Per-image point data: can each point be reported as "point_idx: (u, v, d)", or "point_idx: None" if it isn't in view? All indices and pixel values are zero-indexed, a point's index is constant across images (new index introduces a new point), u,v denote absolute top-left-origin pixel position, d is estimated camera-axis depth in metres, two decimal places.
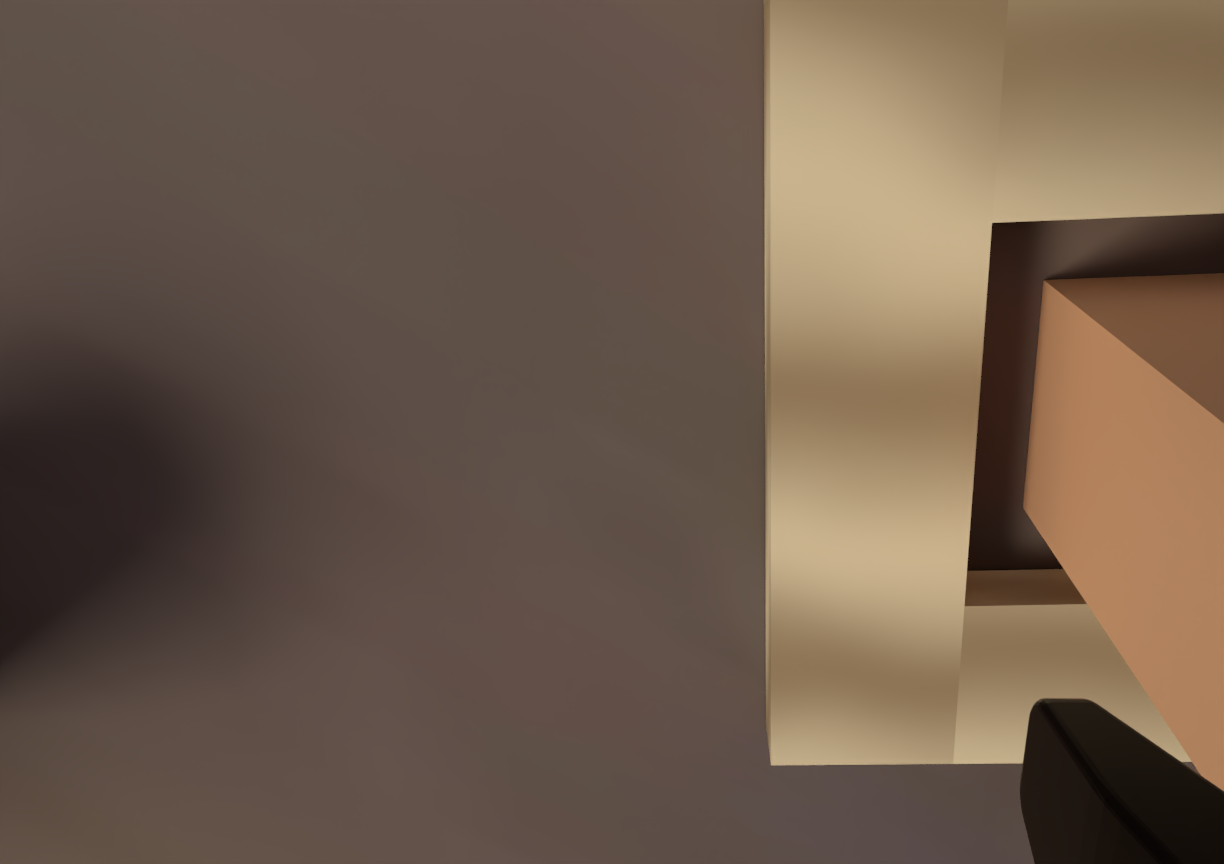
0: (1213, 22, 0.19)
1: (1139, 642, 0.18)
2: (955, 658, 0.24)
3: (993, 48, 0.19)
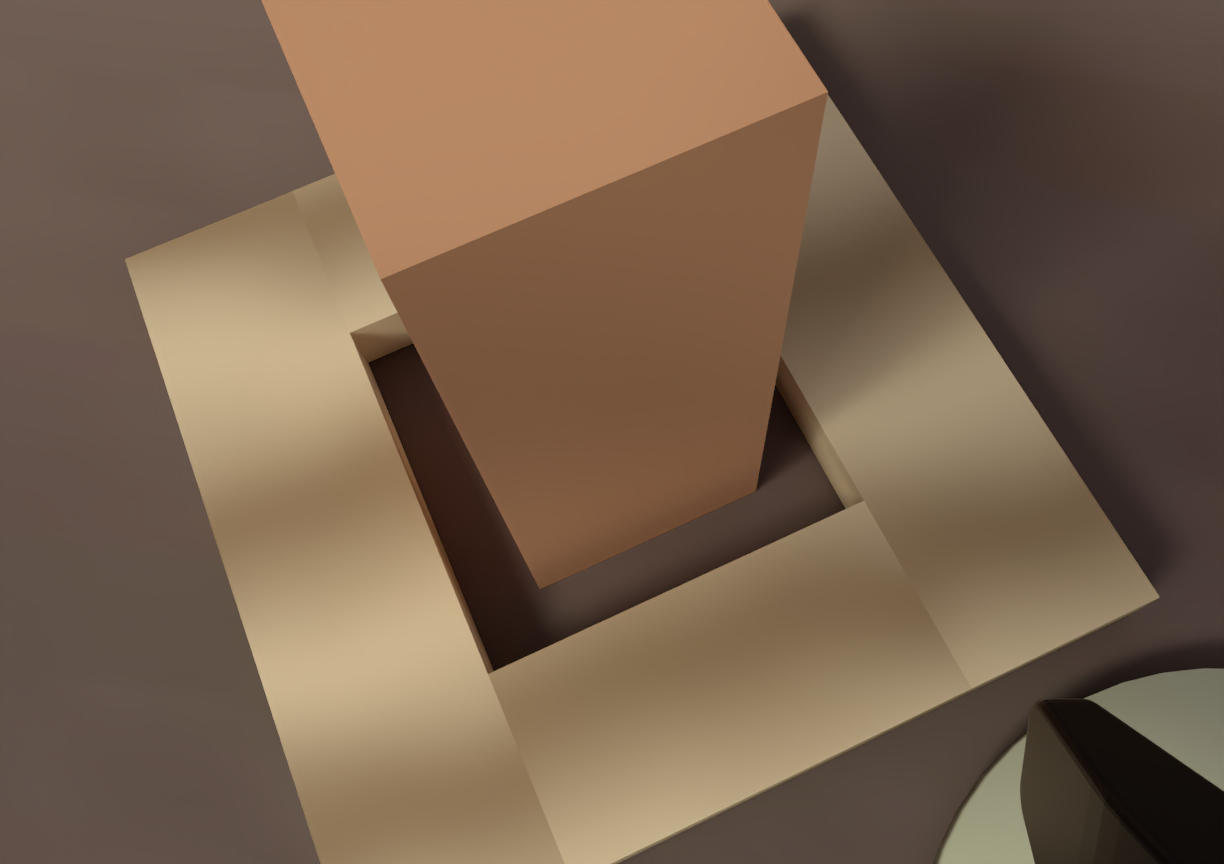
0: None
1: None
2: (507, 739, 0.21)
3: (298, 227, 0.25)
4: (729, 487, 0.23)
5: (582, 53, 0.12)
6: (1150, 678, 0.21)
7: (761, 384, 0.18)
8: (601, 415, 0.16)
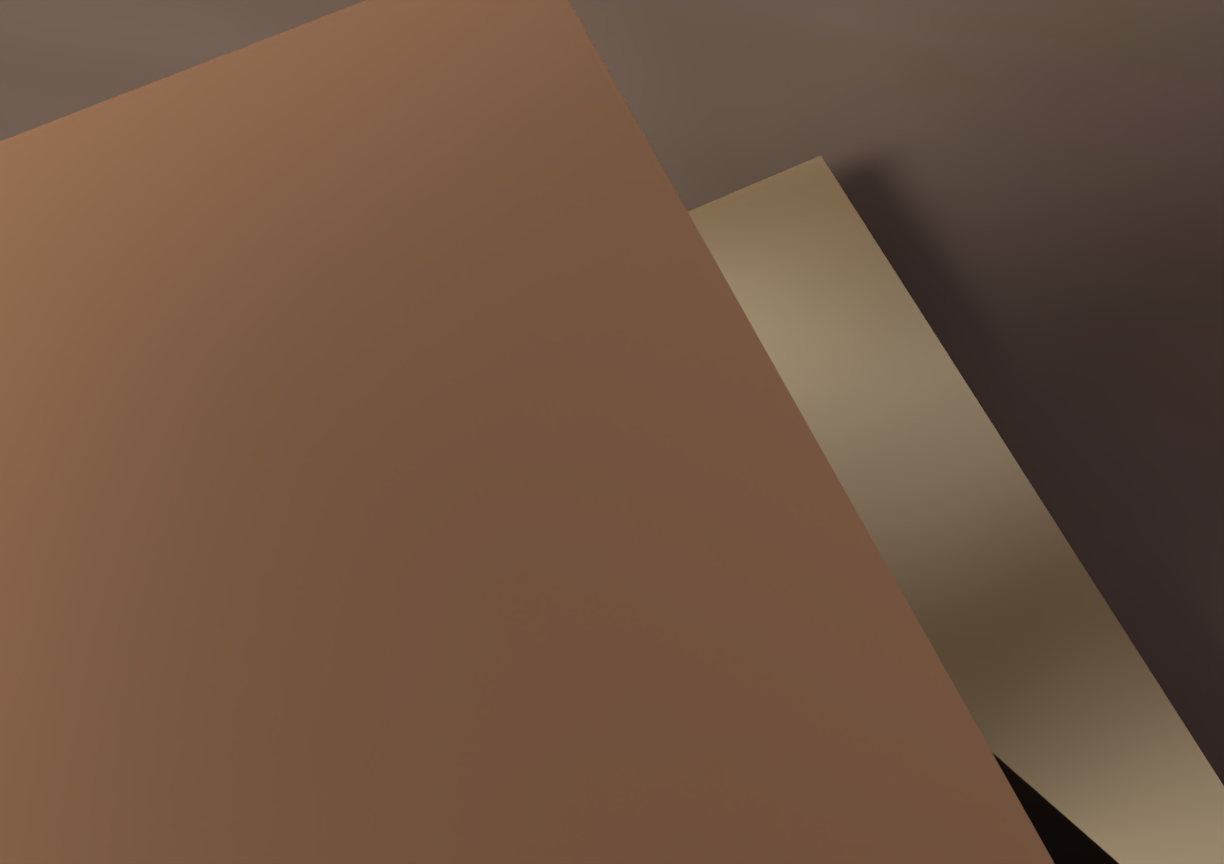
0: None
1: None
2: None
3: None
4: None
5: None
6: None
7: None
8: None
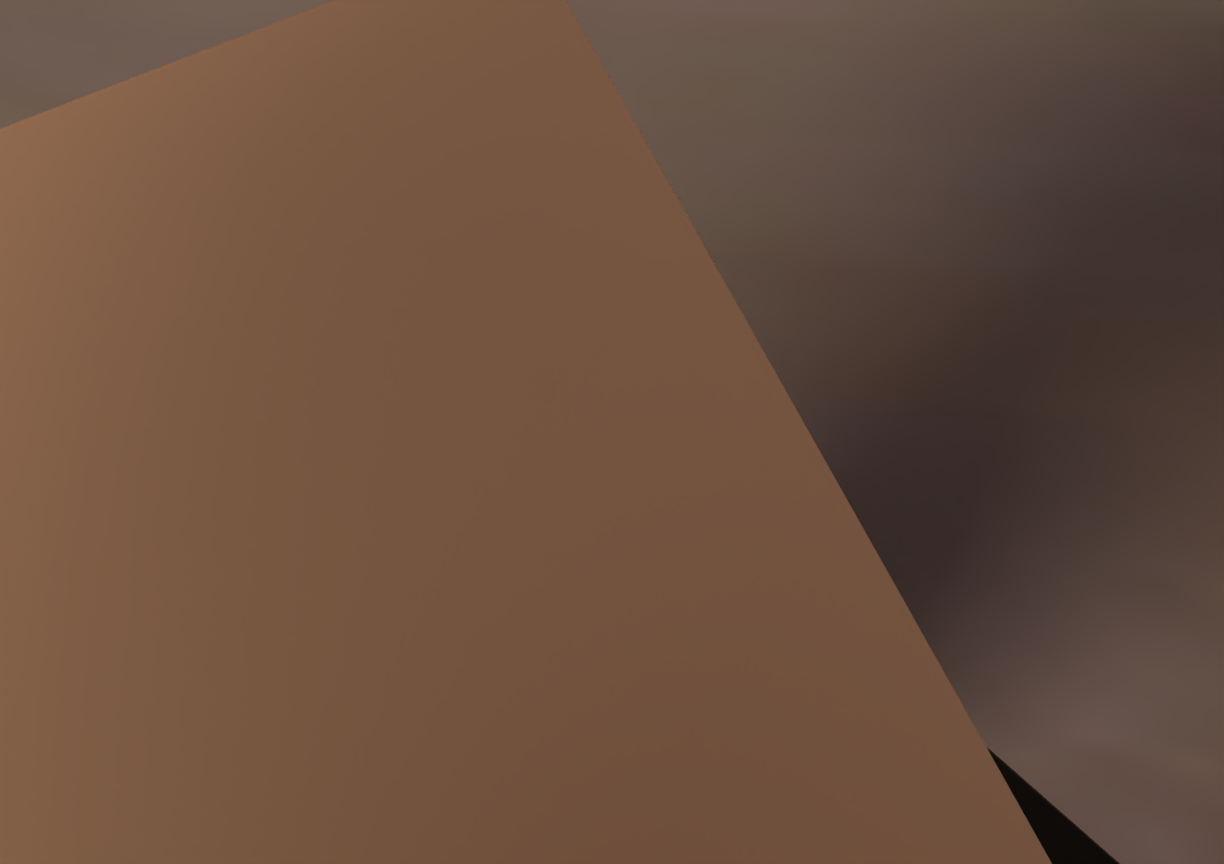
0: None
1: None
2: None
3: None
4: None
5: None
6: None
7: None
8: None
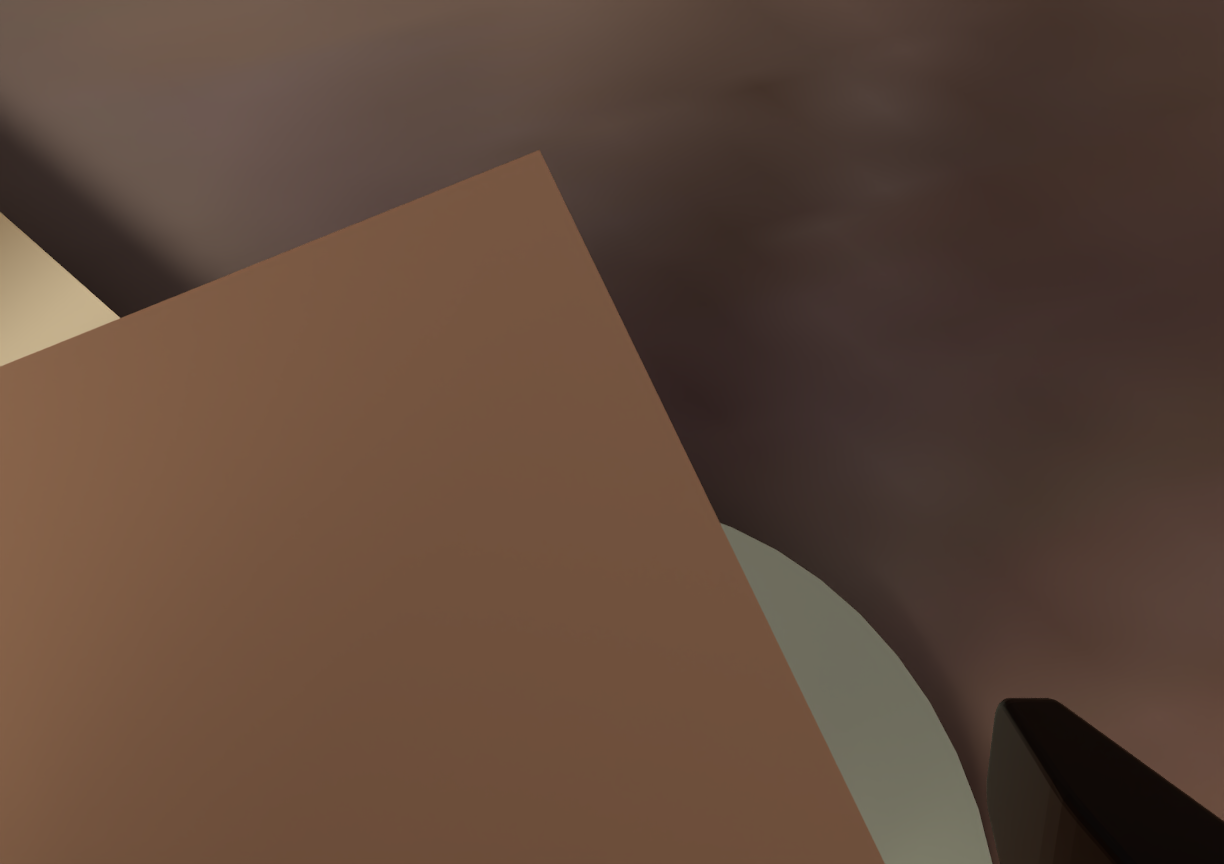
0: None
1: None
2: None
3: None
4: None
5: None
6: None
7: None
8: None
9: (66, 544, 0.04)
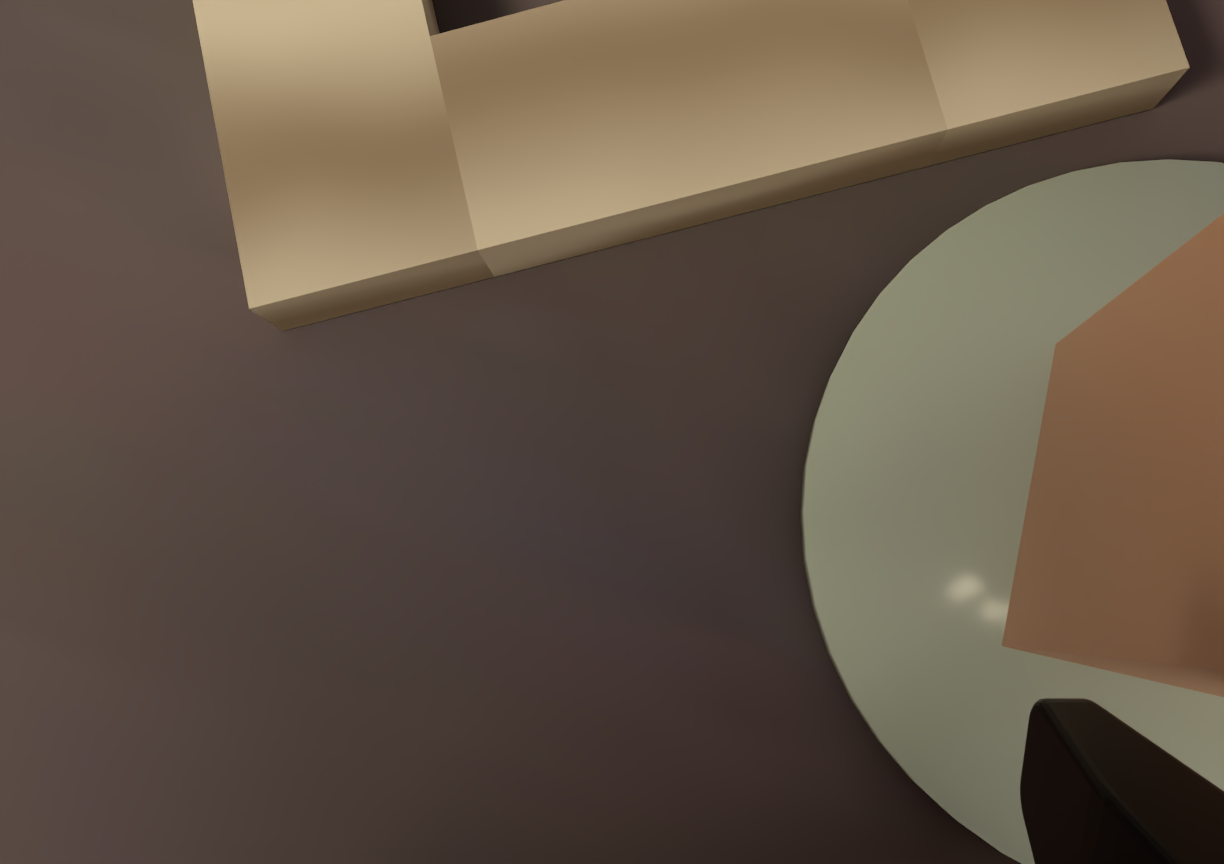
0: None
1: (1171, 602, 0.11)
2: (438, 103, 0.19)
3: None
4: None
5: None
6: (1153, 162, 0.19)
7: None
8: None
9: None
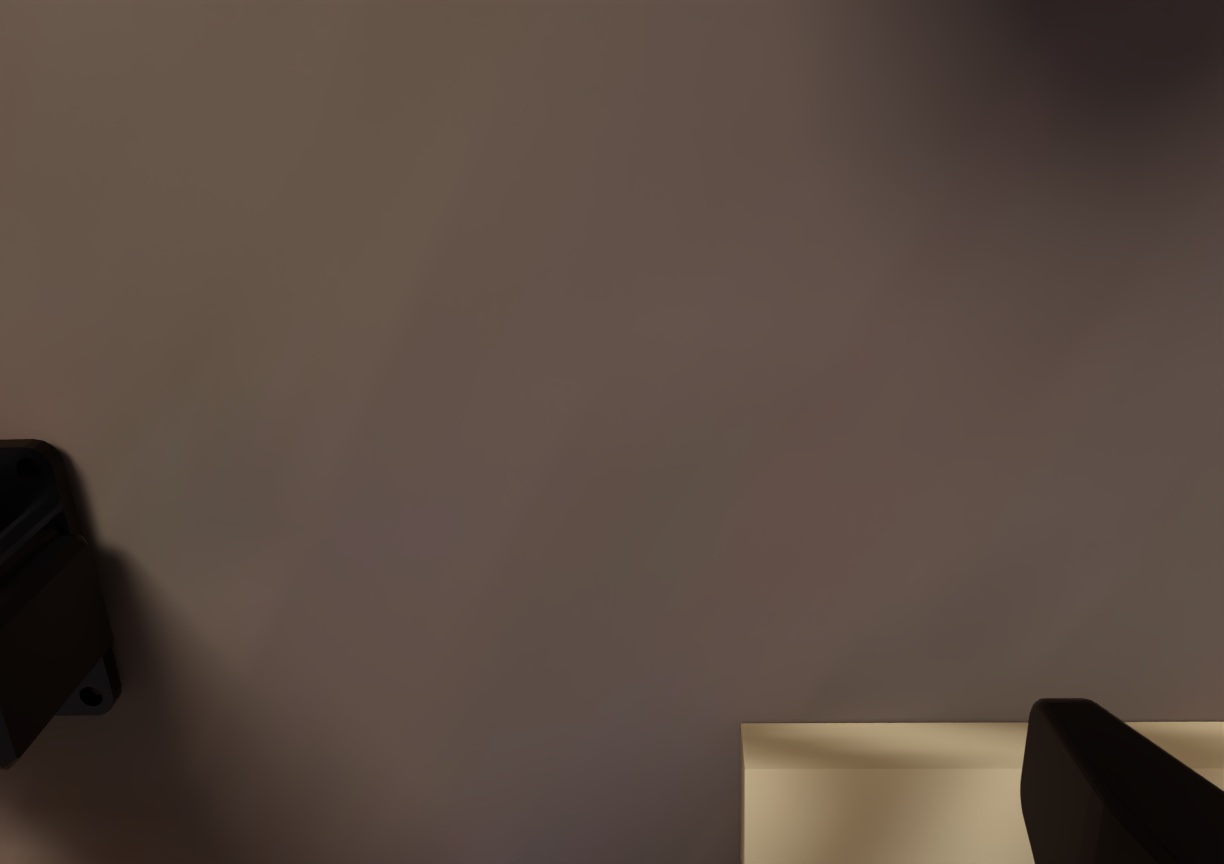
0: None
1: None
2: None
3: None
4: None
5: None
6: None
7: None
8: None
9: None
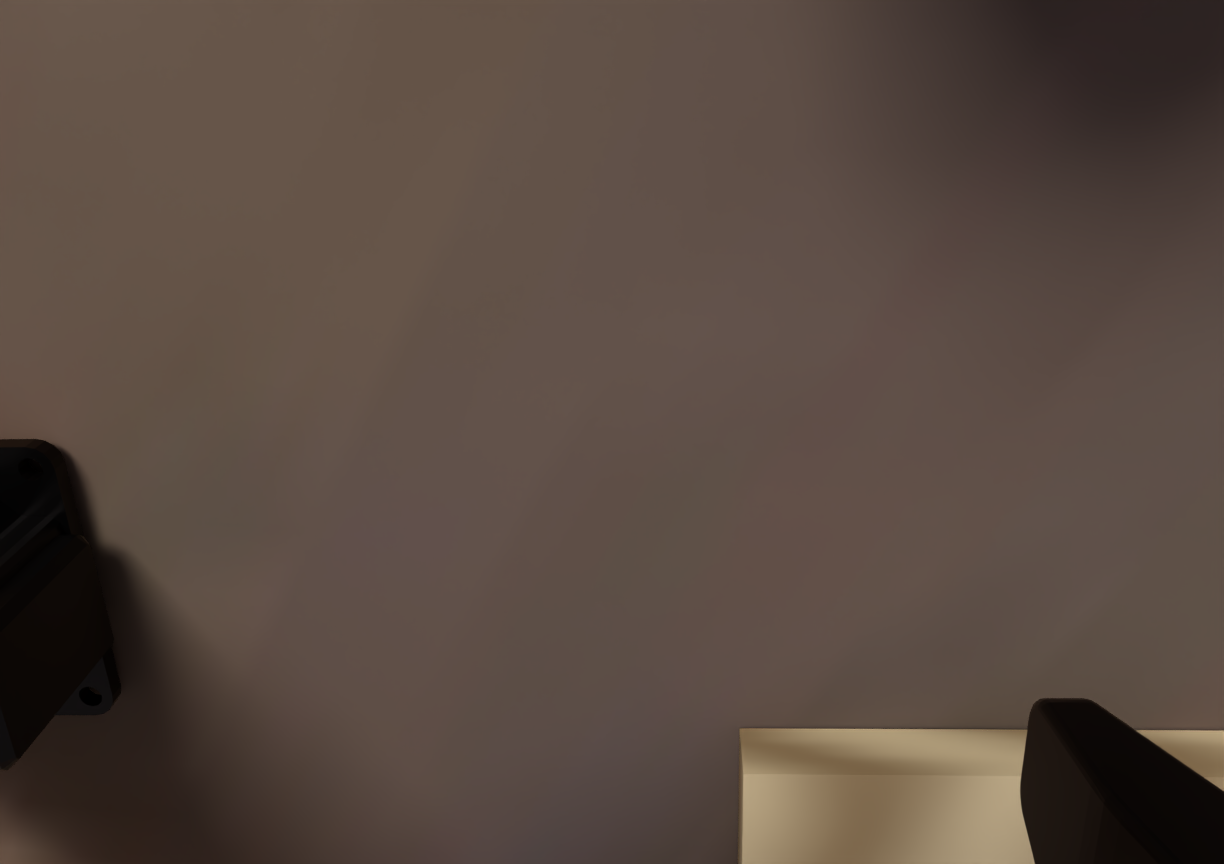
0: None
1: None
2: None
3: None
4: None
5: None
6: None
7: None
8: None
9: None
